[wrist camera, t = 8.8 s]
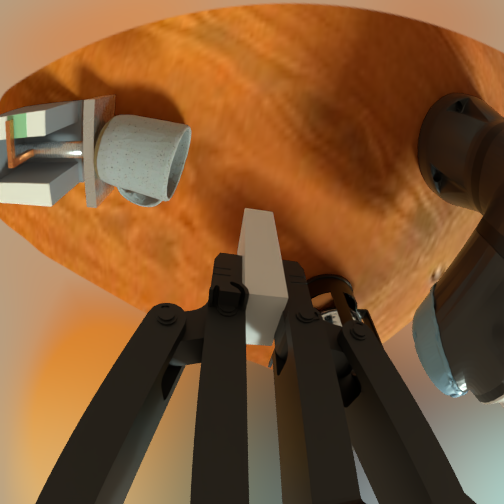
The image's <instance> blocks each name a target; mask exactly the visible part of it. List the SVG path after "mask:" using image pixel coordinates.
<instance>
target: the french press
mask: <svg viewBox="0 0 504 504" xmlns="http://www.w3.org/2000/svg"><path fill="white" fill-rule="evenodd" d="M306 281H307V285H308V289H309V293H310V297H311V299H312V298H314V297H316V296H318V295H321V294H324V293H329V292H331V295H332V298H333V301H334V304H335V307H332V308H328V309H325V310H323V311H320V313H321V315H322V317H323V320H325V321H327V322H329V323H332V324H335V325H338V326H343V325H344V324H345V322H347V321H350V320H357V321H360V322H362V321H361V319H363V321H364V324H366V325H367V326H368V327H369V328H370V329H371V330H372V332H373V333H374V335H375V336H376V338H377V339H378V341H379V342H380V344H381V345H382V343H381V340H380V338H379V335H378V333H377V331H376V328H375V326H374V323H373V321H372V319H371V316H370V314H369V312H368V310H367V309H357V302H356V300H355V297H354V295H353V289H352V287H351V285H350V283H349V282H348V281H347V280H346V279H345V278H343V277H341V276H338V275H334V274H324V275H318V276H315V277H312V278H310V279H308V280H306ZM343 293H344V294H345V296H344V294H343ZM382 347H383V346H382ZM383 349H384V348H383ZM351 445H352V443H351ZM352 450H354V448H353V445H352Z"/></svg>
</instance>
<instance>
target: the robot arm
mask: <svg viewBox="0 0 504 504" xmlns="http://www.w3.org/2000/svg"><path fill="white" fill-rule="evenodd" d="M418 159H419V165H420V169H421V173H422V175H423V178H424V180H425V182H426V183H427V185H428V186H429V188H430V189H431V190H432V191H433V192H434V193H436V194H437V195H438V196H439V197H441V198H442V199H443V200H444V201H446V202H448V203H450V204H452V205H456V206H460V207H463V208H467V209H470V210H474V211H477V212H480V213H481V214H482V215H483V217H482V219H481V221H480V222H479V224H478V226H477V227H476V229H475V230H474V231H473V233H472V234H471V236H470V238H469V239H468V241H467V242H466V244H465V245H464V247H463V248H462V249H461V251H460V252H459V254H458V255H457V257H456V258H455V259H454V261H453V262H452V264H451V265H450V266H449V268H448V269H447V270H446V272H445V273H444V274H443V276H442V277H441V278H440V279H439V281H438V282H436V283H435V284H434V285H433V286H432V287H431V290H430V293H429V294H428V296H427V297H426V298H425V300H424V301H423V302H422V304H421V305H420V306H419V307H418V309H417V311H416V312H415V315H414V318H413V325H412V332H413V338H414V342H415V348H416V351H417V354H418V357H419V359H420V362H421V363H422V366H423V368H424V370H425V371H426V373H427V374H428V376H429V378H430V379H431V381H432V382H433V383H434V384H435V386H436V387H437V388H438V389H439V390H440V391H442V392H443V393H444V394H446V395H450V396H451V397H459V396H461V395H464V394H466V393H467V392H468V390H470V391H471V392H472V393H473V394H474V395H475V396H476V398H477V399H478V400H479V401H480V402H481V403H482V404H493V403H498V402H499V403H500V404H501V405H502V407H503V408H504V118H503V117H502V116H501V115H500V114H499V113H498V112H497V111H495V110H494V109H493V108H492V107H491V106H489V105H488V104H487V103H486V102H484V101H483V100H481V99H479V98H477V97H474V96H471V95H467V94H463V93H453V94H449V95H446V96H444V97H442V98H441V99H439V100H438V101H437V102H436V103H435V104H434V105H433V106H432V108H431V109H430V110H429V112H428V113H427V115H426V117H425V119H424V122H423V124H422V127H421V131H420V135H419V142H418ZM273 340H275V349H274V351H273V354H272V356H271V359H270V361H269V365H268V367H271V366H272V363H273V372H274V385H275V398H276V412H277V425H278V440H279V455H280V470H281V486H282V502H283V504H366V503H364V502H363V501H362V499H361V496H360V491H359V485H358V479H357V473H356V467H355V461H354V456H353V450H352V445H353V448H354V450H355V452H356V454H357V456H358V458H359V461H360V463H361V465H362V467H363V469H364V472H365V474H366V476H367V478H368V480H369V483H370V485H371V487H372V489H373V491H374V494H375V496H376V498H377V500H378V502H379V504H476V503H475V502H474V501H473V500H472V499H471V498H470V497H469V496H467V495H466V494H465V493H464V491H463V489H462V487H461V485H460V483H459V481H458V479H457V477H456V475H455V473H454V471H453V469H452V467H451V465H450V463H449V461H448V459H447V457H446V455H445V453H444V451H443V450H442V448H441V446H440V444H439V442H438V440H437V438H436V437H435V435H434V433H433V431H432V429H431V427H430V426H429V424H428V422H427V421H426V418H425V417H424V415H423V414H422V411H421V410H420V408H419V406H418V405H417V403H416V401H415V399H414V398H413V396H412V394H411V393H410V391H409V389H408V387H407V386H406V384H405V383H404V381H403V379H402V378H401V376H400V374H399V373H398V371H397V370H396V368H395V366H394V365H393V363H392V361H391V360H390V358H389V357H388V355H387V353H386V352H385V350H384V349H383V347H382V345H381V344H380V342H379V341H378V339H377V338H376V336H375V335H374V333H373V332H372V330H371V329H370V328H369V327H368V326H367V325H366V324H364V323H363V322H360V321H357V320H350V321H347V322H345V324H344V325H343V326H338V325H335V324H332V323H329V322H327V321H325V320H323V317H322V315H321V313H320V312H319V311H318V310H317V309H316V308H314V307H313V305H312V301H311V297H310V293H309V289H308V285H307V281H306V278H305V273H304V270H303V268H302V267H301V266H300V264H299V263H298V262H295V261H287V260H282V258H281V253H280V247H279V242H278V236H277V231H276V226H275V220H274V215H273V212H270V211H263V210H256V209H249V208H245V210H244V216H243V222H242V227H241V233H240V239H239V245H238V250H237V255H234V254H226V253H220V254H219V255H218V256H217V257H216V258H215V261H214V268H213V275H212V282H211V287H210V289H209V300H208V302H207V303H206V305H204V306H203V307H202V308H199V309H197V310H192V311H185V312H184V310H183V309H182V308H181V307H179V306H177V305H175V304H171V303H162V304H158V305H156V306H154V307H153V308H152V309H151V310H150V311H149V312H148V313H147V315H146V317H145V318H144V319H143V321H142V323H141V324H140V325H139V327H138V328H137V330H136V331H135V333H134V334H133V336H132V337H131V339H130V340H129V342H128V343H127V345H126V346H125V348H124V350H123V351H122V353H121V354H120V356H119V357H118V359H117V360H116V362H115V364H114V365H113V367H112V368H111V370H110V371H109V373H108V375H107V376H106V378H105V379H104V381H103V383H102V384H101V386H100V387H99V389H98V391H97V393H96V394H95V396H94V397H93V399H92V401H91V402H90V404H89V406H88V407H87V409H86V411H85V412H84V414H83V416H82V417H81V419H80V421H79V423H78V424H77V426H76V428H75V430H74V431H73V433H72V435H71V437H70V438H69V441H68V442H67V444H66V446H65V447H64V449H63V451H62V453H61V455H60V457H59V458H58V460H57V462H56V464H55V466H54V468H53V470H52V472H51V474H50V475H49V477H48V479H47V482H46V483H45V485H44V487H43V490H42V491H41V493H40V495H39V497H38V500H37V502H36V504H123V503H124V501H125V498H126V496H127V493H128V491H129V489H130V487H131V485H132V482H133V480H134V478H135V476H136V473H137V471H138V469H139V467H140V464H141V462H142V460H143V458H144V455H145V453H146V451H147V449H148V446H149V444H150V442H151V440H152V438H153V435H154V433H155V431H156V429H157V427H158V424H159V422H160V420H161V418H162V416H163V413H164V411H165V409H166V406H167V405H168V402H169V400H170V398H171V396H172V394H173V392H174V389H175V387H176V385H177V383H178V381H179V379H180V376H181V374H182V372H183V370H184V368H185V365H189V364H195V363H201V371H200V380H199V390H198V401H197V412H196V425H195V436H194V450H193V464H192V481H191V501H190V504H249V484H248V483H249V482H248V437H247V435H248V434H247V378H246V344H254V345H267V346H271V345H272V343H273ZM351 443H352V445H351Z"/></svg>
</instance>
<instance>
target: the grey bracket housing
mask: <svg viewBox="0 0 504 504" xmlns="http://www.w3.org/2000/svg"><path fill="white" fill-rule="evenodd" d="M83 112H84V100H77V101H65V102H56V103H48V104H40V105H33V106H27V107H21V108H18V109H15V110H12V111H9V112H6V113H3V114H0V203H13V204H26V205H39V206H53V205H54V204H55V203H56V202H57V201H58V200H59V199H60V198H61V197H63V196H64V195H65V194H66V193H67V192H68V191H70V190H71V189H72V188H73V187H74V186H76V185H77V184H78V183H79V182H84V181H85V177H84V158H29V159H28V160H26V161H24V162H23V163H21V164H19V165H18V166H16V167H14V168H8V156H7V144H6V127H5V121H8V120H12V119H13V128H14V146H15V147H16V145H17V144H23V143H37V142H59V141H83Z"/></svg>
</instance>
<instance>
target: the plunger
mask: <svg viewBox="0 0 504 504" xmlns="http://www.w3.org/2000/svg"><path fill="white" fill-rule="evenodd" d="M115 98H116V95H104V96H99V97H95V98H90V99H86V100H84V112H83V141H59V142H37V143H23V144H17V145H16V147H15V146H14V128H13V119H12V120H8V121H5V127H6V144H7V156H8V168H14V167H16V166H18V165H19V164H21V163H23V162H24V161H26V160H28V159H29V158H84V177H85V191H86V202H87V207H93V208H97V207H98V206H99V205H100V204H101V203H102V202H103V200H104V199H105V198H106V197H107V196H108V195H109V194H110V193H111V192H112V191H113V190H114V186H113V185H110V184H108V183H106V182H104V181H102V180H101V179H99V178H98V176H97V175H96V172H95V169H94V162H93V159H94V150H95V145H96V142H97V139H98V136H99V134H100V132H101V130H102V128H103V127H104V126H105V124H106V123H107V122H108V121H109V120H110V119H111V118H113V117H114V113H115Z"/></svg>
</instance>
